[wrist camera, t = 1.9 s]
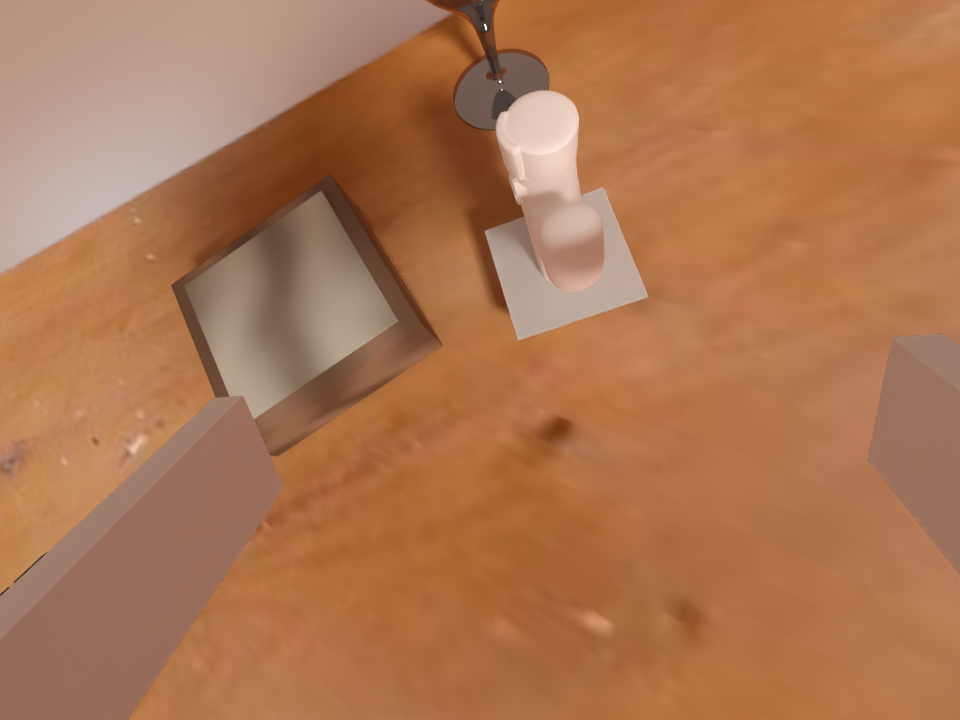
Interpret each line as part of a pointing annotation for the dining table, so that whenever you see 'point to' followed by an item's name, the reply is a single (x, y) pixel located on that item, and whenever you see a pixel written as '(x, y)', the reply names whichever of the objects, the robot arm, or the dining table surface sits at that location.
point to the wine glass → (492, 69)
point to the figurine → (556, 224)
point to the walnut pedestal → (303, 316)
